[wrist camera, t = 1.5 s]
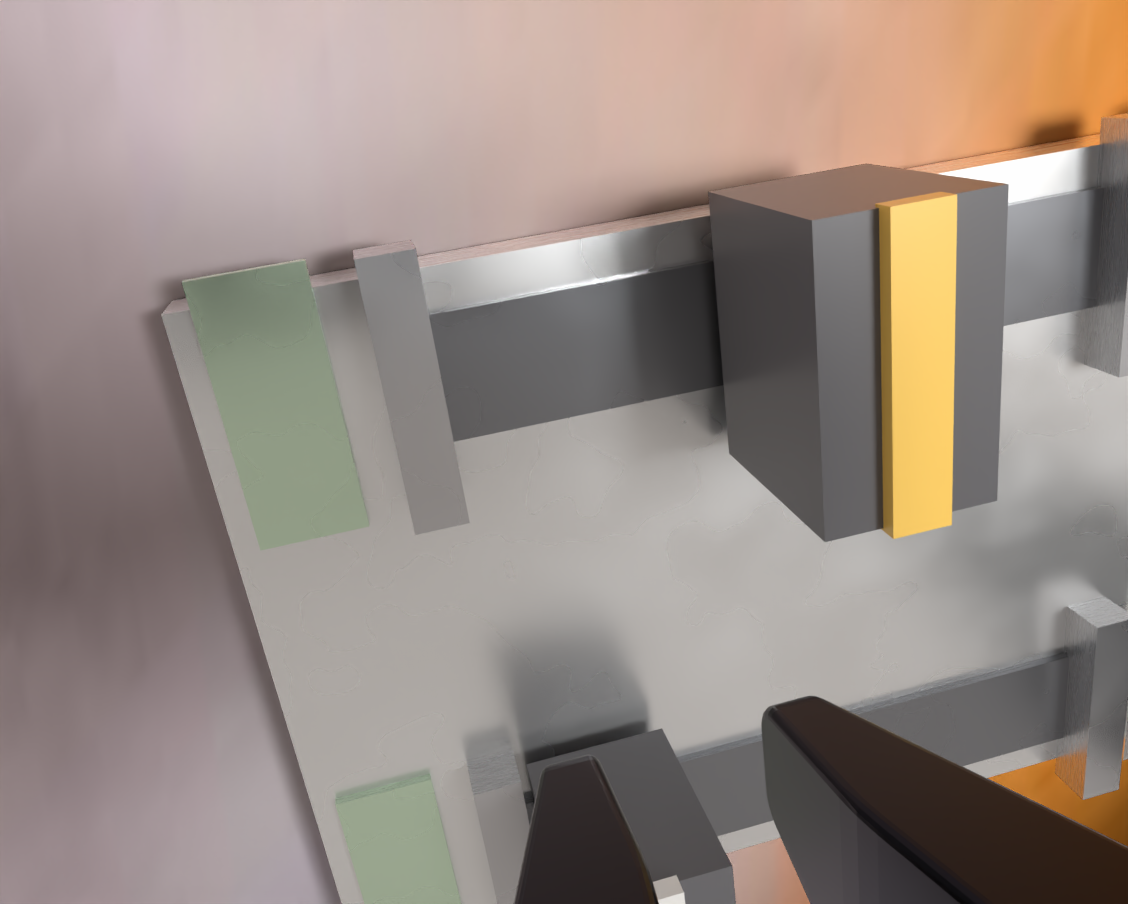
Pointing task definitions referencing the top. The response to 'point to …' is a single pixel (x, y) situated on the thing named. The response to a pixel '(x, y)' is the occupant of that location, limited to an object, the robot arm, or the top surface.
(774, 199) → the block
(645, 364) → the panel
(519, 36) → the top surface
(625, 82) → the top surface
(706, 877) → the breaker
